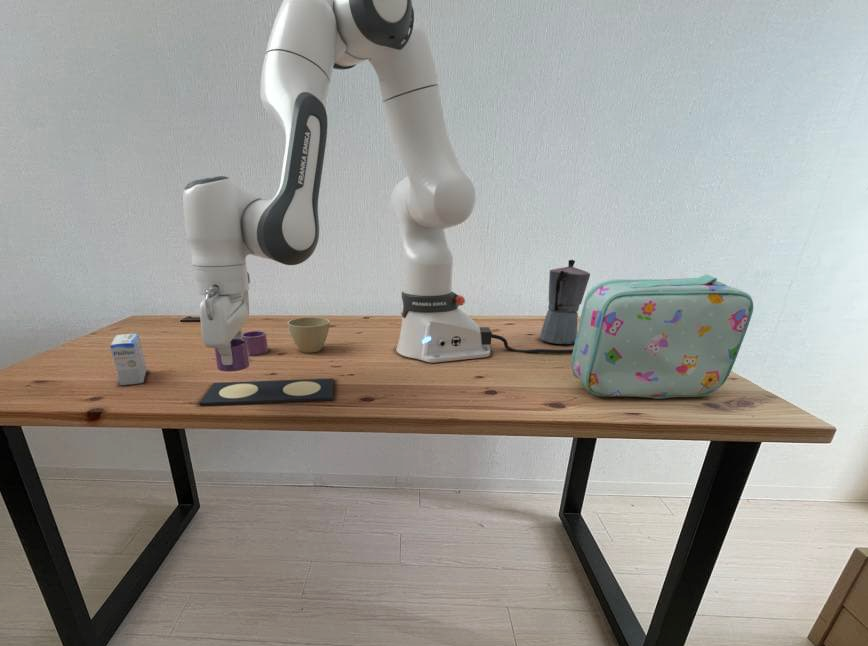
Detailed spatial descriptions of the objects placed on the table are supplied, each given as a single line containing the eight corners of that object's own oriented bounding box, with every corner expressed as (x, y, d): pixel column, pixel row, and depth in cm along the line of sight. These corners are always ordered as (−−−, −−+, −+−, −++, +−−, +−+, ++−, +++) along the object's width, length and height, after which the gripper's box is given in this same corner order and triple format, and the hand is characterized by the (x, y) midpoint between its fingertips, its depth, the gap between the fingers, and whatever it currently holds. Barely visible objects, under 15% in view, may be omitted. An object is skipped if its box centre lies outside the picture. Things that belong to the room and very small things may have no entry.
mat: (333, 380, 93) (333, 377, 93) (332, 400, 84) (332, 396, 84) (214, 385, 92) (213, 382, 91) (199, 405, 82) (199, 402, 82)
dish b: (252, 360, 88) (249, 338, 86) (246, 371, 83) (243, 347, 81) (221, 361, 87) (218, 339, 86) (214, 372, 82) (210, 348, 80)
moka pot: (583, 336, 120) (597, 258, 112) (571, 352, 108) (585, 265, 100) (546, 332, 125) (557, 256, 117) (530, 346, 113) (541, 262, 105)
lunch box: (696, 380, 91) (729, 269, 82) (733, 400, 81) (774, 278, 73) (563, 381, 91) (581, 271, 82) (584, 402, 82) (607, 280, 73)
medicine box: (124, 373, 98) (114, 334, 95) (147, 371, 100) (138, 332, 96) (120, 386, 92) (109, 344, 88) (144, 383, 93) (134, 342, 90)
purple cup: (269, 348, 115) (267, 330, 113) (265, 355, 109) (263, 336, 108) (246, 348, 114) (243, 331, 112) (241, 355, 109) (238, 337, 107)
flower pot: (313, 358, 106) (311, 328, 103) (281, 352, 111) (278, 323, 108) (339, 347, 114) (337, 319, 111) (308, 342, 119) (306, 315, 116)
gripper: (226, 291, 69) (238, 376, 75) (251, 272, 88) (259, 341, 94) (183, 292, 69) (199, 377, 75) (217, 273, 88) (228, 342, 93)
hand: (232, 357), depth 84 cm, fingers closed on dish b, 6 cm apart
